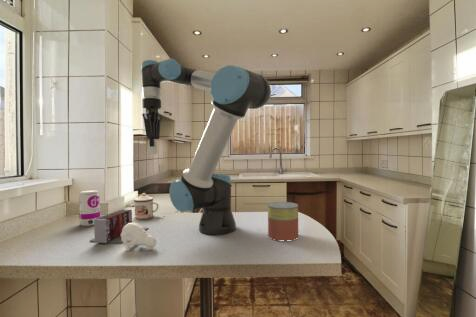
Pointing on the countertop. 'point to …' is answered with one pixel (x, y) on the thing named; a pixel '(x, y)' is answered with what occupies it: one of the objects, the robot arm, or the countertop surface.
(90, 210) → the supplement can
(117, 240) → the mat
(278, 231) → the canned food
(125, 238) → the white irregular piece
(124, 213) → the supplement box
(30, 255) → the countertop surface
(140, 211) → the teacup with lid
